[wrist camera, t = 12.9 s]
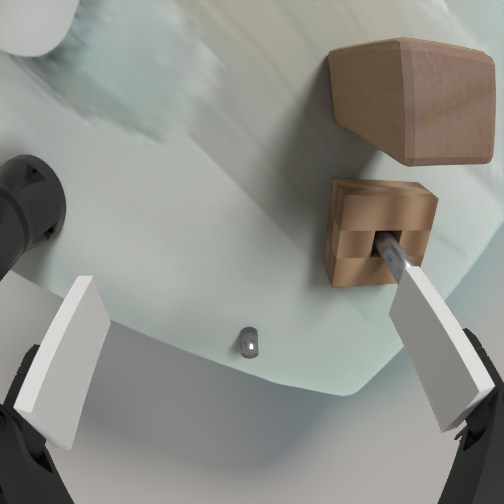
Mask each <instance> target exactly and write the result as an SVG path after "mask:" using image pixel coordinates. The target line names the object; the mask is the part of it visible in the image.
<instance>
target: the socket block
mask: <svg viewBox="0 0 504 504" xmlns="http://www.w3.org/2000/svg"><path fill="white" fill-rule="evenodd" d="M437 203H438V198H437V197H436V196H435V195H433V194H432V193H431V192H430V191H429V190H427V189H426V188H425V187H424V186H422V185H421V184H420V183H416V182H401V181H383V180H360V179H332V190H331V200H330V211H329V220H328V230H327V238H326V247H325V255H324V263H323V264H324V267H325V269H326V272H327V275H328V278H329V280H330V283H331V286H332V287H348V286H364V285H380V284H394V283H397V282H396V281H395V279H394V277H393V276H392V274H391V272H390V271H389V269H388V267H387V266H386V264H385V262H384V261H383V259H382V258H381V256H380V254H379V253H378V251H377V250H376V248H375V247H374V245H373V240H374V235H375V231H388V230H389V232H390V233H391V234H392V236H393V237H394V238H395V240H396V241H397V242H398V243H399V245H400V246H401V247H402V249H403V250H404V252H405V253H406V254H407V256H408V257H409V258H410V260H411V261H412V263H413V264H414V265H415V266H419V267H420V266H421V263H422V260H423V257H424V253H425V250H426V246H427V243H428V239H429V235H430V232H431V228H432V224H433V220H434V216H435V212H436V208H437Z"/></svg>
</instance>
